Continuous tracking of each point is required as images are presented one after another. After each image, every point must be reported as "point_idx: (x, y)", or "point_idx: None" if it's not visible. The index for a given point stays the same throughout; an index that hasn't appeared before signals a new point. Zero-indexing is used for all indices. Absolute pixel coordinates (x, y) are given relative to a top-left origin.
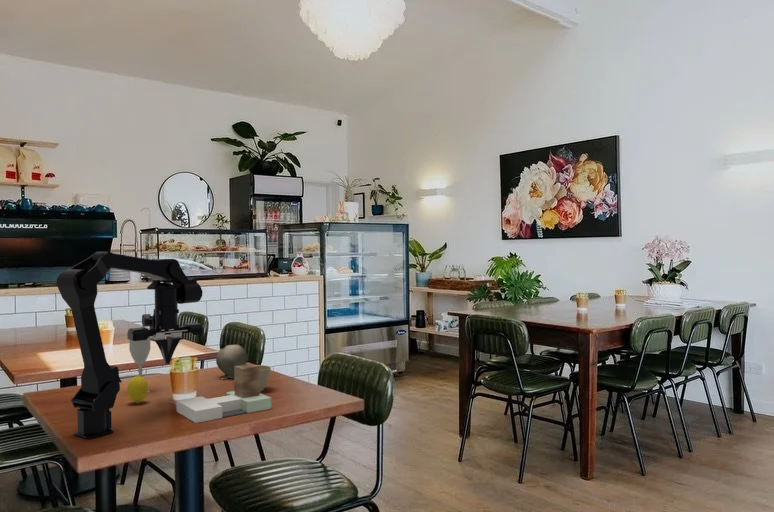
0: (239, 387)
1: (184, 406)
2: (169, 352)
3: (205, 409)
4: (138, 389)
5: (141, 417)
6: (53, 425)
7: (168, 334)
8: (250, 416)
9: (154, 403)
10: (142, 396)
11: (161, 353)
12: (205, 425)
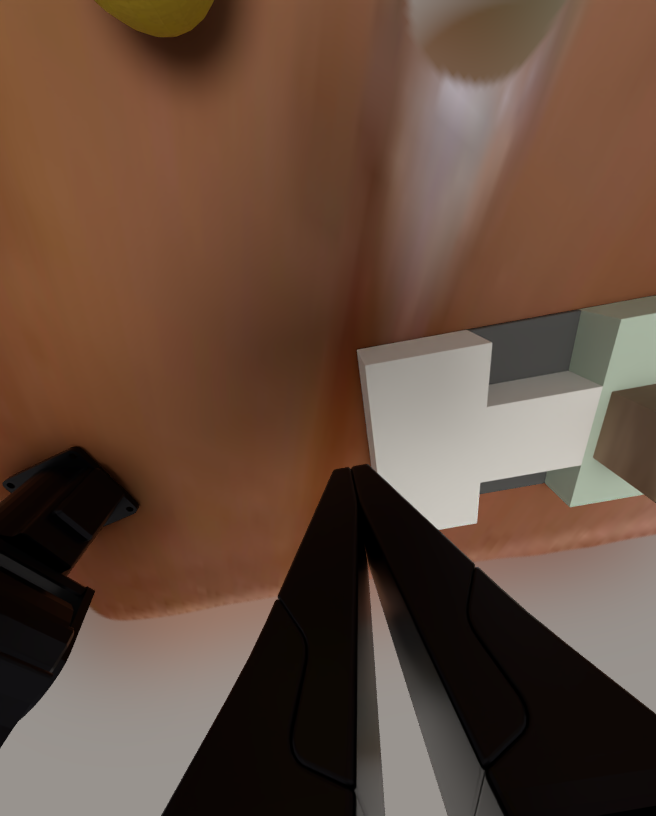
0: (637, 460)
1: (374, 451)
2: (399, 659)
3: None
4: (131, 4)
5: (215, 369)
6: None
7: None
8: (527, 510)
9: (280, 72)
10: (188, 31)
11: (292, 575)
12: None
